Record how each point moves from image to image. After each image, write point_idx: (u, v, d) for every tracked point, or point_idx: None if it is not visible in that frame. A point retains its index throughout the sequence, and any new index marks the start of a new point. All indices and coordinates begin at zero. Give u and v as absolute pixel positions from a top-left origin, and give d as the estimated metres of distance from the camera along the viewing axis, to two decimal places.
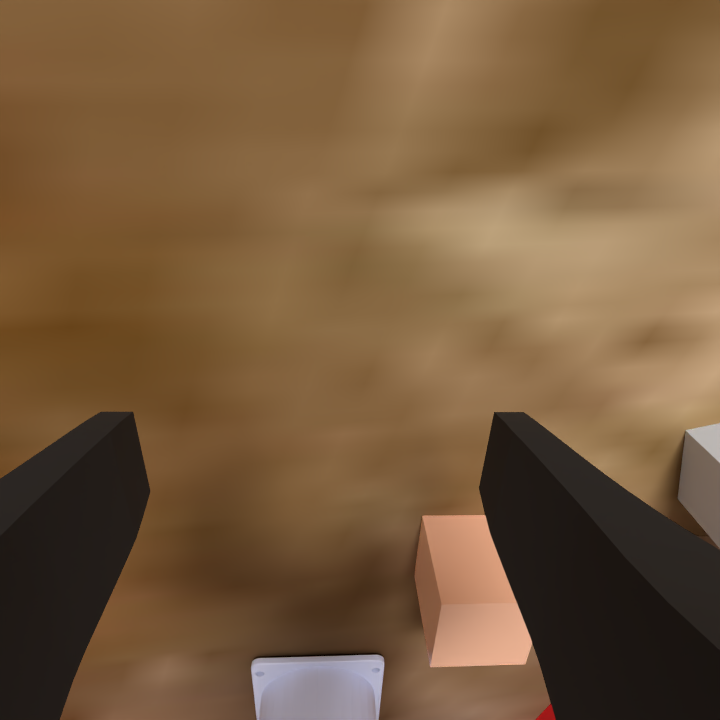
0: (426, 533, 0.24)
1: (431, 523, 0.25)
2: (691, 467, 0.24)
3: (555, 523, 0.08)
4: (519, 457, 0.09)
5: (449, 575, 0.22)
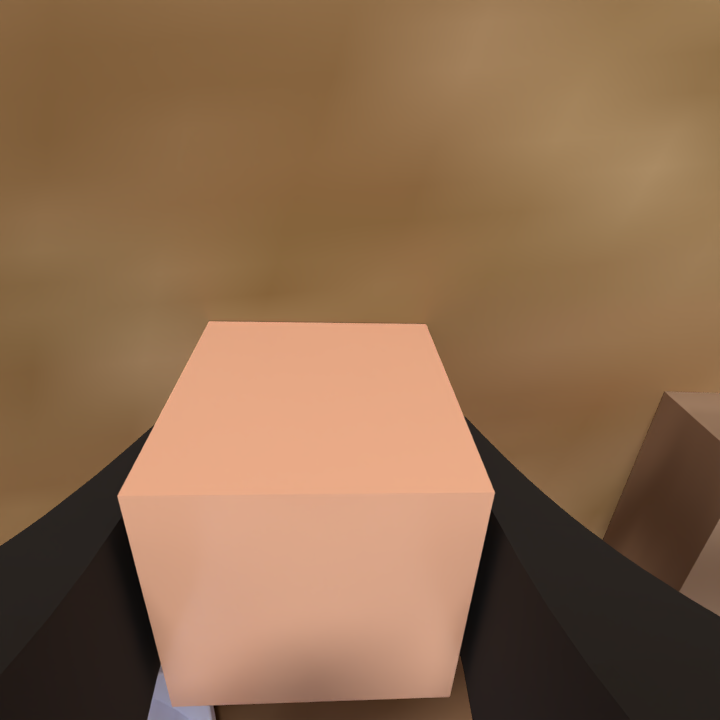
0: (197, 349, 0.09)
1: (221, 332, 0.10)
2: None
3: None
4: None
5: (200, 424, 0.07)
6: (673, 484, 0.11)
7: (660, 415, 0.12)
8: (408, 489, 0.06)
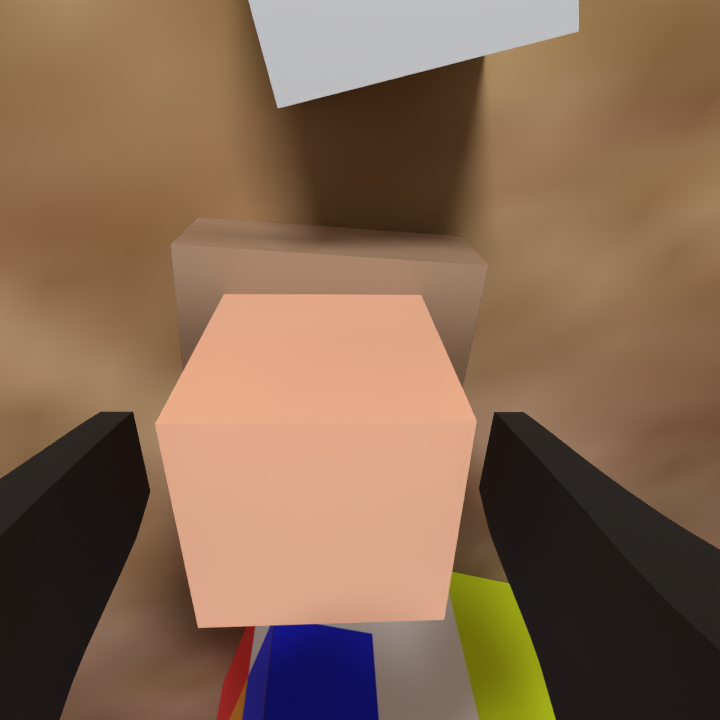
0: (214, 316, 0.10)
1: (235, 303, 0.11)
2: None
3: (555, 523, 0.08)
4: (519, 457, 0.09)
5: (222, 372, 0.08)
6: None
7: None
8: (402, 418, 0.07)
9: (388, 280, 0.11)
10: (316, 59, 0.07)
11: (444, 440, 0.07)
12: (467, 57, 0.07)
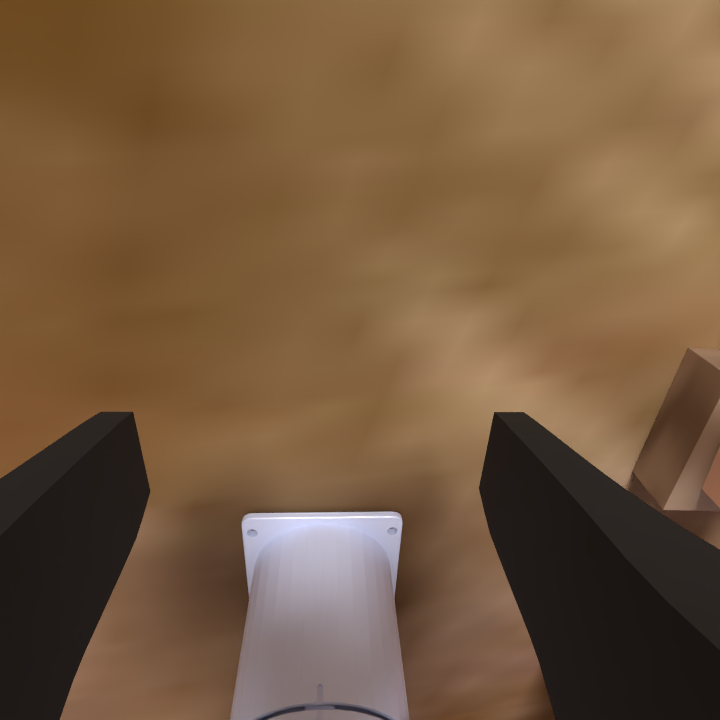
0: None
1: None
2: None
3: (555, 523, 0.08)
4: (519, 457, 0.09)
5: None
6: (691, 395, 0.21)
7: (684, 360, 0.22)
8: None
9: None
10: None
11: None
12: None
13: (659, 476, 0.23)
